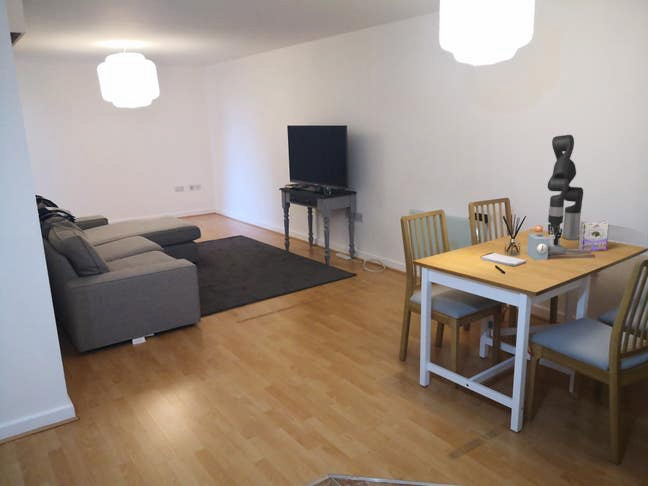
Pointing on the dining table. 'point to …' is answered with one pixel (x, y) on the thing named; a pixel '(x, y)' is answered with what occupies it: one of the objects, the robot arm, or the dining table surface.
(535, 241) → the end cabinet
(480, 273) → the dining table surface
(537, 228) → the button
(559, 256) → the rail track
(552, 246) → the carriage
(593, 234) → the candy box
